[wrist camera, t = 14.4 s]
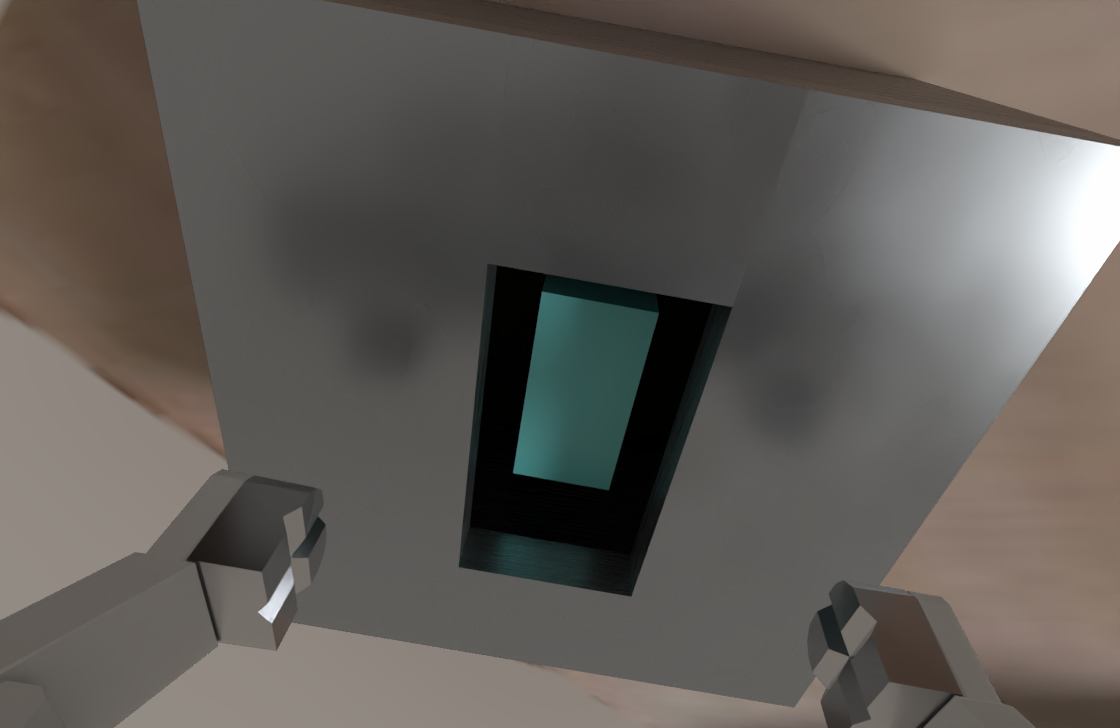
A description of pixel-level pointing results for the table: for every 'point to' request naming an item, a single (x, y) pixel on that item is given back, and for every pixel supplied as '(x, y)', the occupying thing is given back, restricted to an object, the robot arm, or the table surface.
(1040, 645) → the table surface
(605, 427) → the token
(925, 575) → the table surface
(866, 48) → the table surface
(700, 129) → the coin box
